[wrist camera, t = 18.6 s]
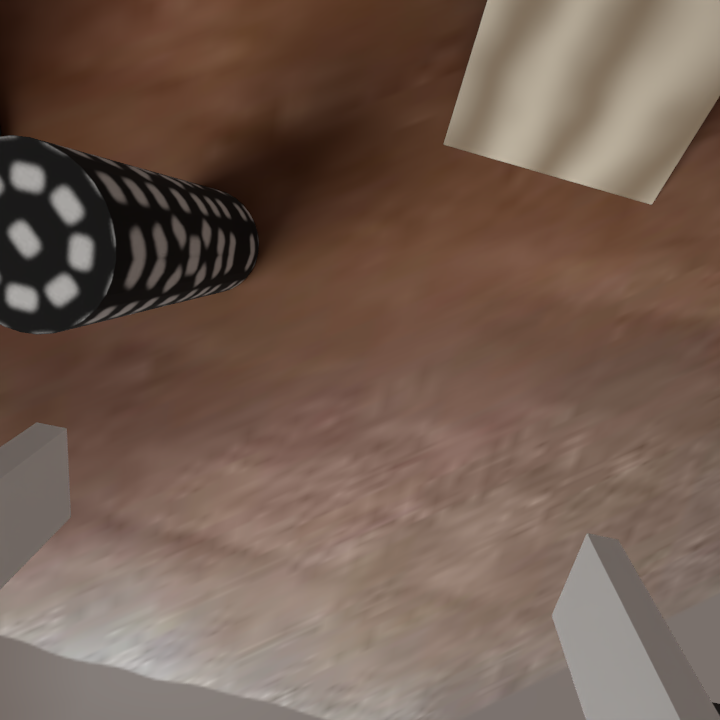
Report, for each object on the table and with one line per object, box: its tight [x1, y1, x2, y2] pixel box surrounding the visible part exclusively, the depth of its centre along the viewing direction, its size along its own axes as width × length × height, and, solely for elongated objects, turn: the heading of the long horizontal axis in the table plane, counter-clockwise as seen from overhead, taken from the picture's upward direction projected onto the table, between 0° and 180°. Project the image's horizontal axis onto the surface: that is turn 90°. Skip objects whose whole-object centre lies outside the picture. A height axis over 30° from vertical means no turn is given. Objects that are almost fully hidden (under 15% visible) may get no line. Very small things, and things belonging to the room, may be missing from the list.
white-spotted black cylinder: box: [0, 135, 259, 334], centre depth 31 cm, size 8×8×20 cm
